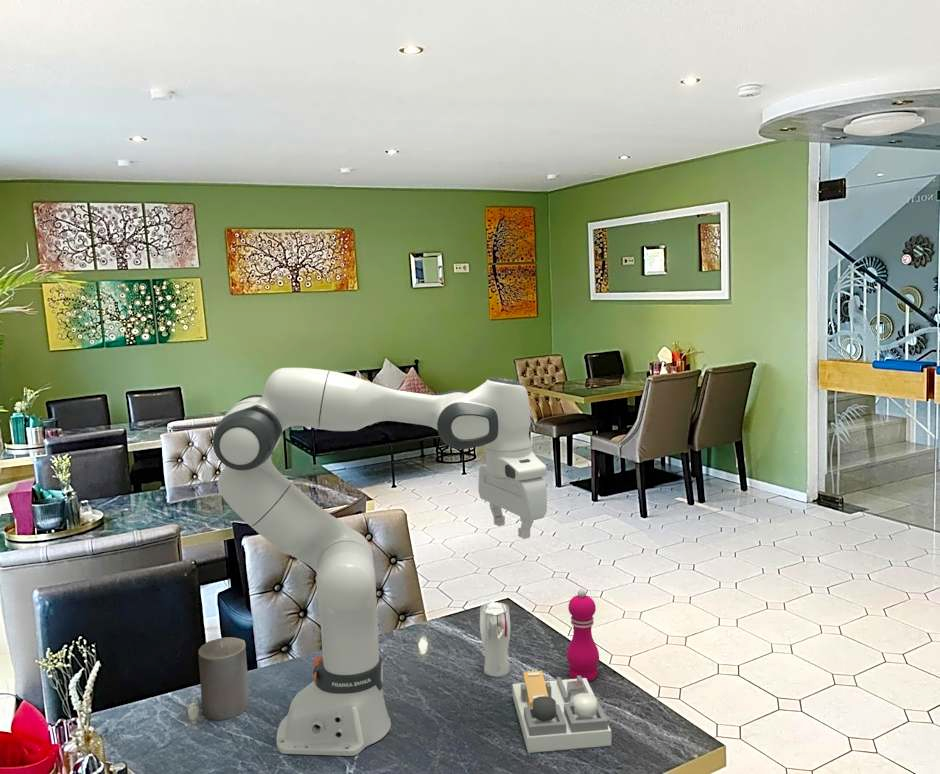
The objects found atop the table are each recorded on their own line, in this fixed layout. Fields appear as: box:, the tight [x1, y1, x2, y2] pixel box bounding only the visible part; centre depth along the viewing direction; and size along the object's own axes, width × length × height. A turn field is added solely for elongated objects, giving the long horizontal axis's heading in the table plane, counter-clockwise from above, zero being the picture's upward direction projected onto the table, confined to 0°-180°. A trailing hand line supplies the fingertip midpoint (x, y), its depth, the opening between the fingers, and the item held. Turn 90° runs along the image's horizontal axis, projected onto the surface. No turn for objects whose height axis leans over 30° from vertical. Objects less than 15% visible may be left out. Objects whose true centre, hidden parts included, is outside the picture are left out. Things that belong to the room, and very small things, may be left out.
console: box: [511, 676, 612, 754], centre depth 153 cm, size 16×20×6 cm
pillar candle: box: [198, 636, 250, 721], centre depth 162 cm, size 10×10×15 cm
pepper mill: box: [566, 588, 600, 682], centre depth 170 cm, size 7×7×20 cm
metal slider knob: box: [567, 681, 585, 703], centre depth 155 cm, size 3×3×3 cm
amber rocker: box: [522, 670, 548, 707], centre depth 156 cm, size 4×8×2 cm, turn 5°
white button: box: [574, 693, 598, 717], centre depth 147 cm, size 4×4×2 cm
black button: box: [533, 696, 556, 721], centre depth 147 cm, size 4×4×2 cm
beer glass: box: [479, 601, 511, 678], centre depth 174 cm, size 7×7×15 cm
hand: (511, 531), depth 148 cm, fingers open, 8 cm apart
